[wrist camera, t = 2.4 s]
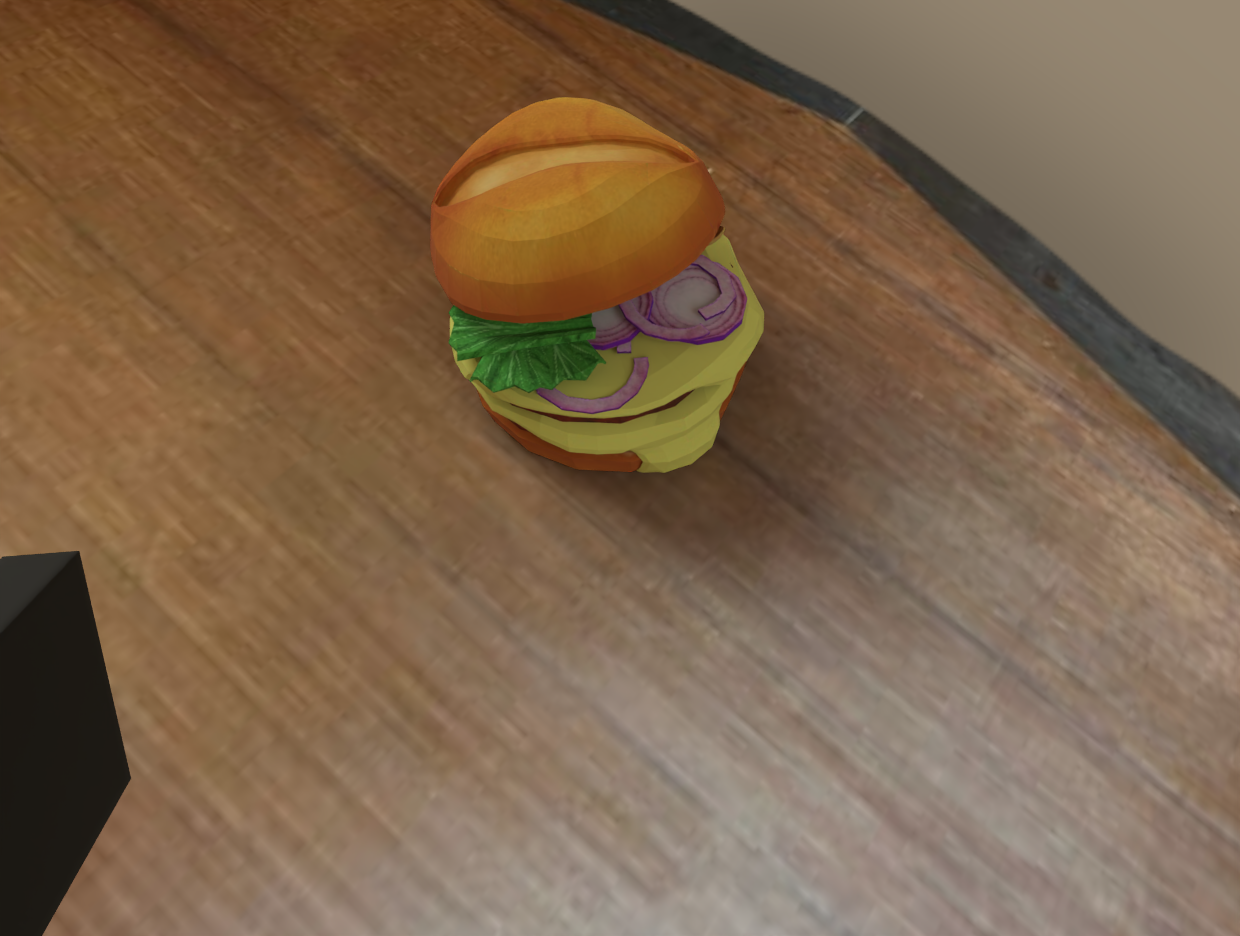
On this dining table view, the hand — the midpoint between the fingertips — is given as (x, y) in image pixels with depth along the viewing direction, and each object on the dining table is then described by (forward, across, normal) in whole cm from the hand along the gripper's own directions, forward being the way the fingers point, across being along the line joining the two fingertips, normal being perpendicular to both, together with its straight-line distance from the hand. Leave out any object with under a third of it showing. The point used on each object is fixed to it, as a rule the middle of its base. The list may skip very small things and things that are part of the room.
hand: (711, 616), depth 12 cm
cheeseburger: (+28, 0, -4) cm, 28 cm away
